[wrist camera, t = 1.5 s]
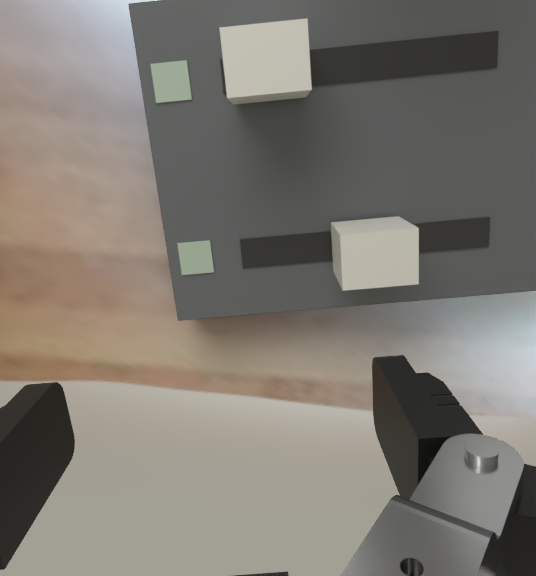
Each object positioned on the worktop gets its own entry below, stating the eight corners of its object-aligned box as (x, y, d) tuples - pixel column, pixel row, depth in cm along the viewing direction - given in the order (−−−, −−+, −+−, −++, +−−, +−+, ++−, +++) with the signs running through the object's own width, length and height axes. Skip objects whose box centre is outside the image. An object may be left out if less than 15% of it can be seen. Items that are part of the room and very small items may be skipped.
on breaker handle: (301, 37, 25) (307, 18, 21) (305, 97, 26) (311, 89, 22) (227, 44, 25) (219, 27, 22) (233, 104, 26) (227, 98, 22)
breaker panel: (555, -26, 27) (590, -46, 24) (533, 275, 33) (559, 289, 30) (143, 17, 28) (127, 3, 25) (186, 305, 33) (177, 321, 30)
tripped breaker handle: (398, 216, 28) (418, 228, 24) (399, 265, 29) (418, 284, 25) (330, 222, 28) (340, 235, 24) (333, 271, 29) (342, 290, 25)
